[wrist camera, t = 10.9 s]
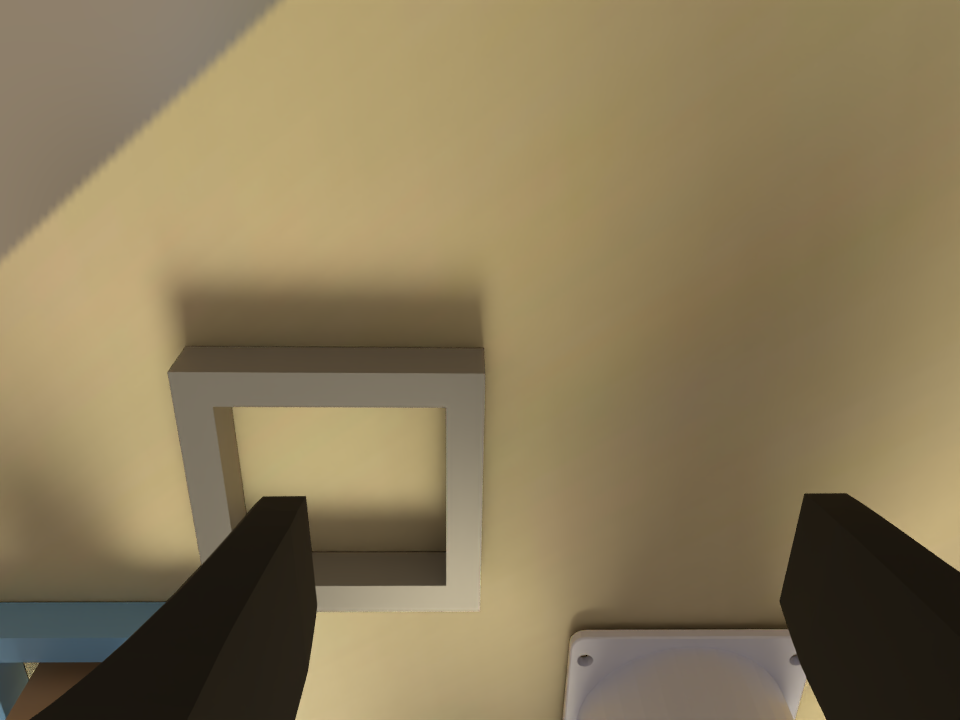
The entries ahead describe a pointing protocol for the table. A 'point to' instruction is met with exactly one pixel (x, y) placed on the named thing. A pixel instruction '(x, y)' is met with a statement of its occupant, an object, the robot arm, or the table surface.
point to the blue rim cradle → (61, 636)
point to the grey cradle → (341, 383)
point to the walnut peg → (48, 686)
